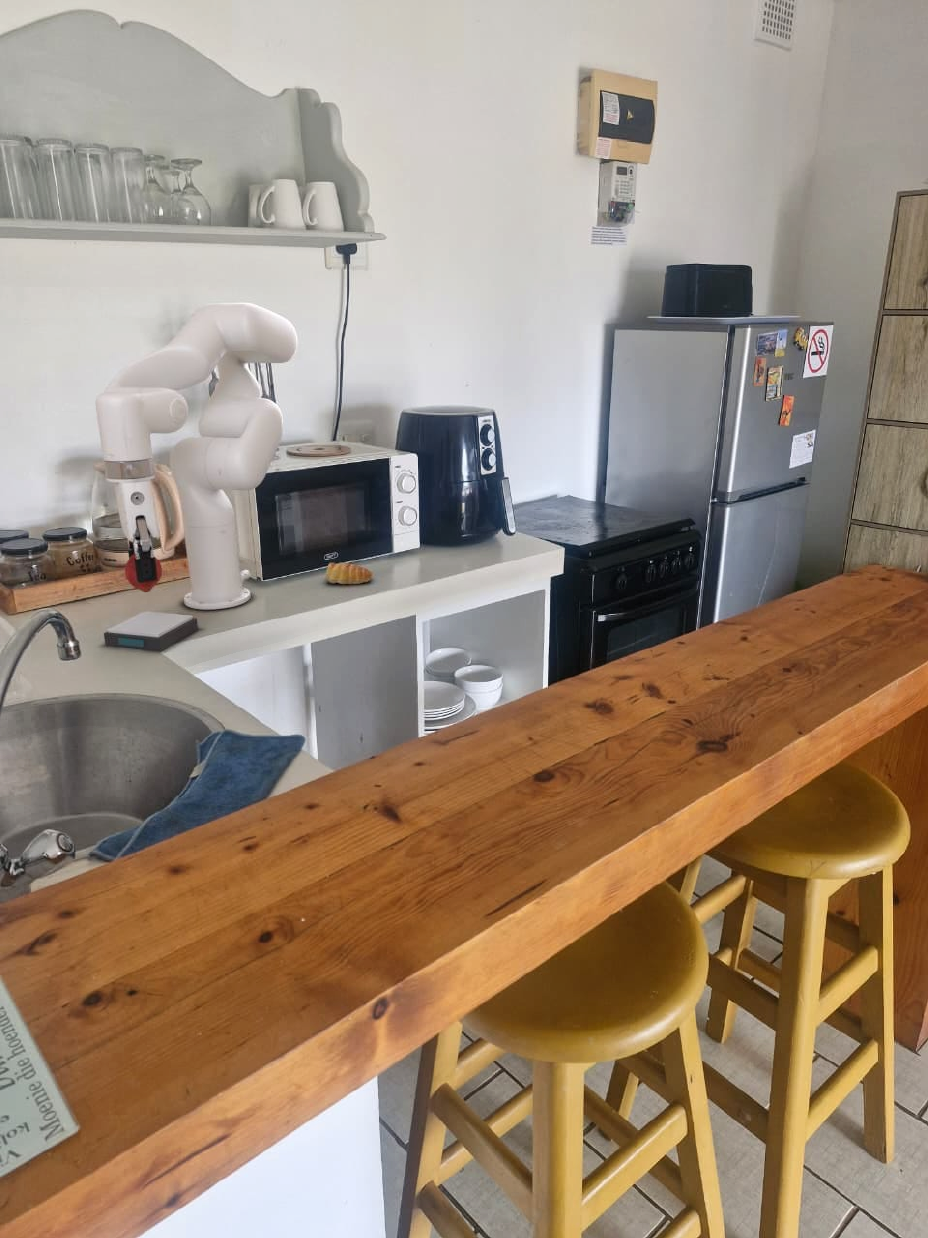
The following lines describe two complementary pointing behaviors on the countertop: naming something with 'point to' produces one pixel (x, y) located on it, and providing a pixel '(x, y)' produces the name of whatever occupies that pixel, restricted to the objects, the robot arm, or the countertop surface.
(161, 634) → the scale
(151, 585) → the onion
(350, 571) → the pastry
